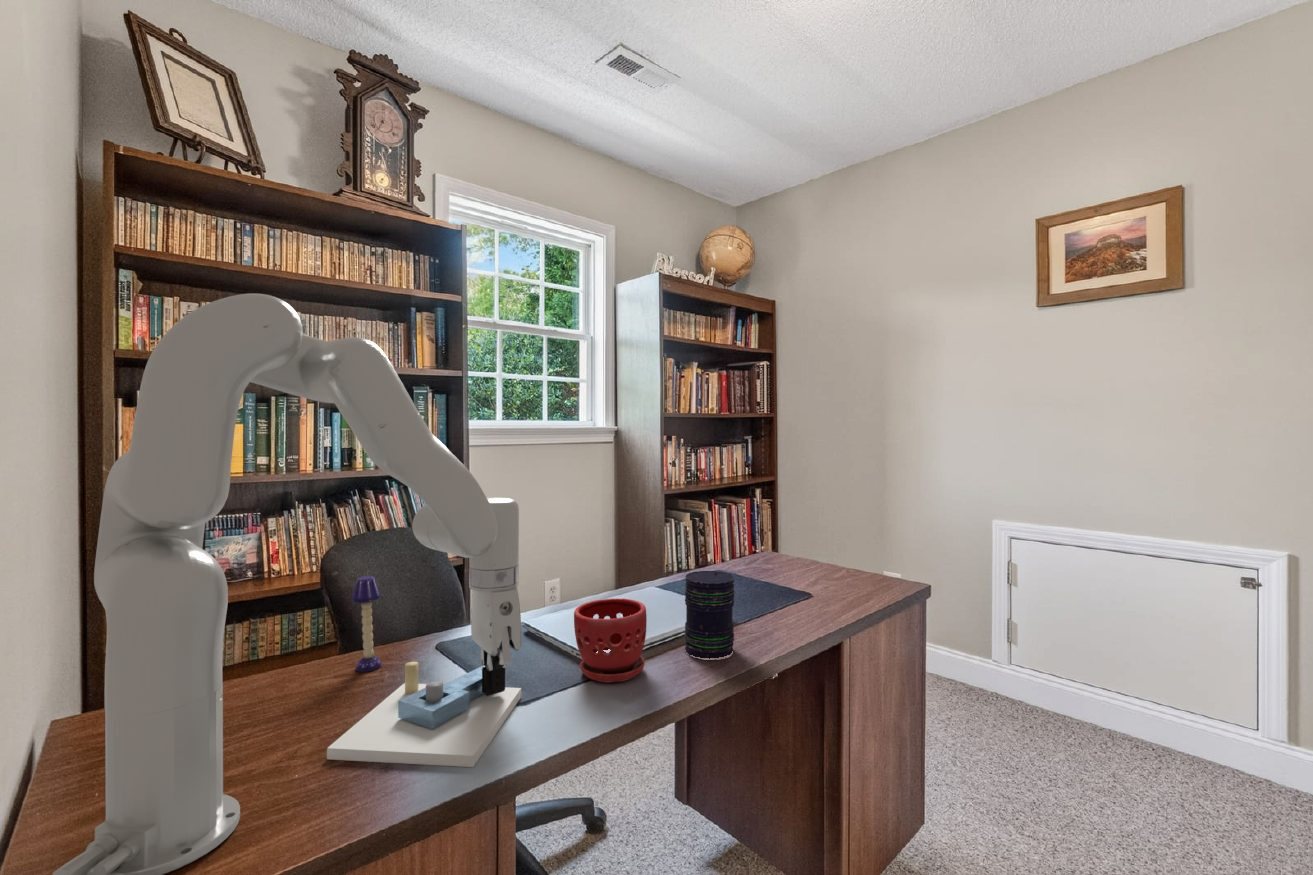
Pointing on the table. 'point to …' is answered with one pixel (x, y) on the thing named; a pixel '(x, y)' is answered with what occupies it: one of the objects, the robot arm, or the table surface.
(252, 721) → the table surface
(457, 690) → the square nut with handle
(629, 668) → the plant pot
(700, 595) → the storage jar
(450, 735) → the post board
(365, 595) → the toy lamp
